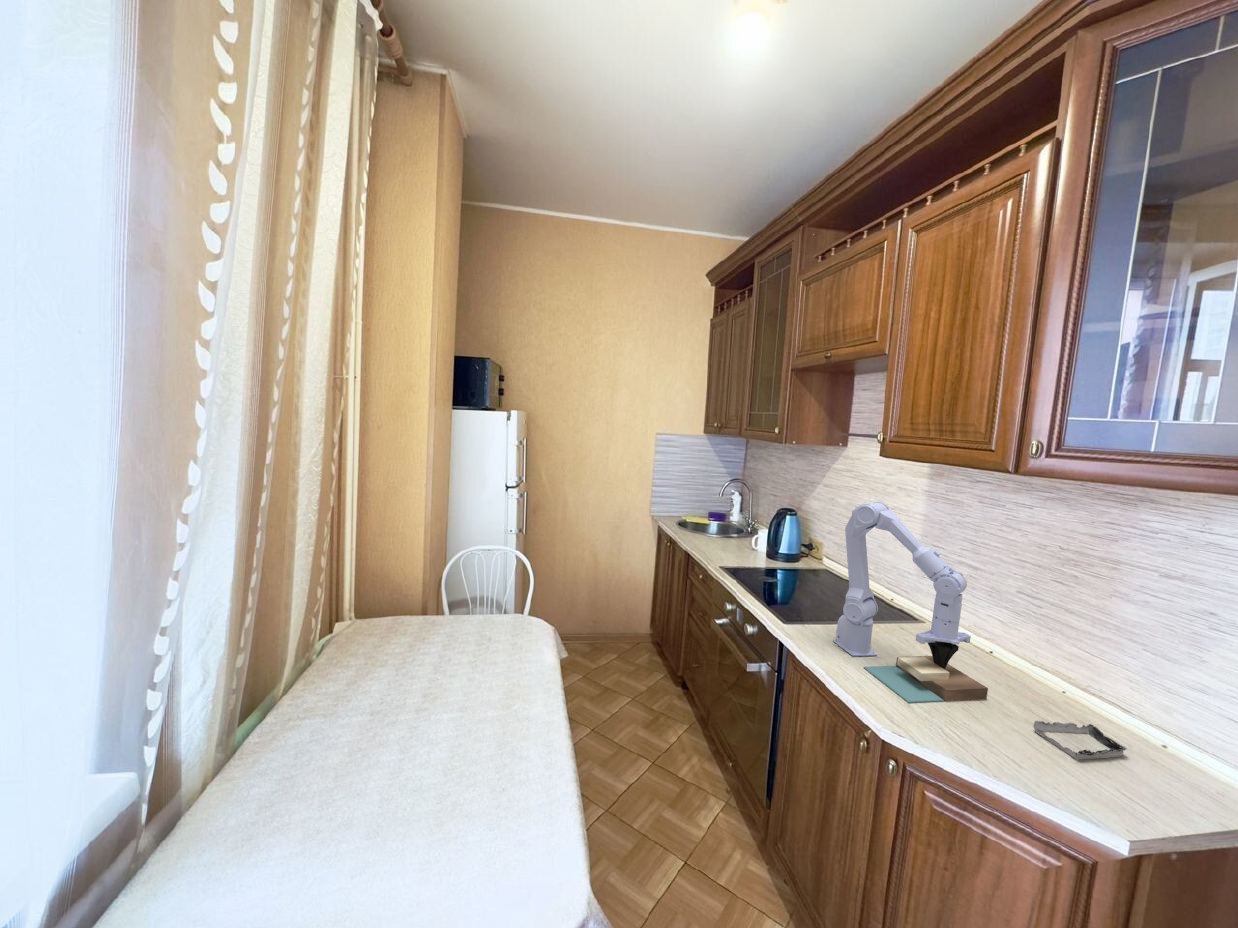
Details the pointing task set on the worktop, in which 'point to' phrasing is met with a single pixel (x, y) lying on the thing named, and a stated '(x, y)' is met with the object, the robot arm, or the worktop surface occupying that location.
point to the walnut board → (953, 685)
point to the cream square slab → (923, 668)
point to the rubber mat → (903, 684)
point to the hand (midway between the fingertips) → (939, 668)
